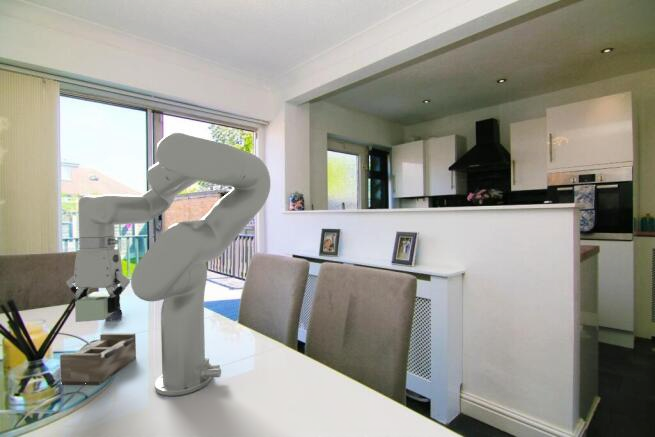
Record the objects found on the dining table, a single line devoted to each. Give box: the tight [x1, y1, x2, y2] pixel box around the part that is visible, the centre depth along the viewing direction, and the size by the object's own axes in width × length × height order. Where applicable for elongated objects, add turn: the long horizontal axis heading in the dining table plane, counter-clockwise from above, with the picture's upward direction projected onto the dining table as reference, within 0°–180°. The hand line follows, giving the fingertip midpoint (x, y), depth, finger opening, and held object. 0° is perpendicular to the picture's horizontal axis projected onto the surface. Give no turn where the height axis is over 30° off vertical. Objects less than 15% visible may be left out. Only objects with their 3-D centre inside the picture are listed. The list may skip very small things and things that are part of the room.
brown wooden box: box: [59, 333, 137, 386], centre depth 84 cm, size 14×11×7 cm
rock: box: [104, 295, 123, 321], centre depth 128 cm, size 10×6×10 cm, turn 31°
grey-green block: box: [74, 290, 114, 323], centre depth 84 cm, size 10×6×5 cm, turn 14°
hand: (98, 310), depth 84 cm, fingers closed on grey-green block, 7 cm apart
